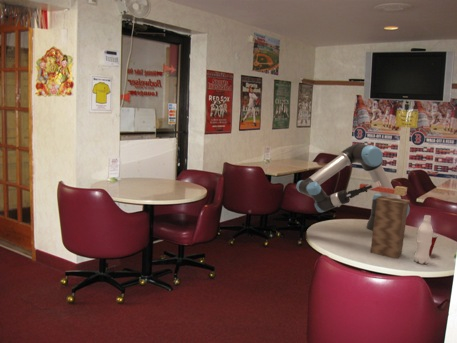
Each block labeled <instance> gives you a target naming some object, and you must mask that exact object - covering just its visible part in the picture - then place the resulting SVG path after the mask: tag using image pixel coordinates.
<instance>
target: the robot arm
mask: <svg viewBox="0 0 457 343" xmlns="http://www.w3.org/2000/svg"><path fill="white" fill-rule="evenodd" d="M383 157H384V154H383V152H382V150H381V148H379V147H377V146H375V145H371V144H364V143H355V144H352V145H350V146H348V147H346V148H345V149H343V150H342V151H340V152H339V155H338V156H337V157H335V158H334V159H332V160H331V161H330V162H328V163H326V164H325V165H324V166H323V167H321V168H320V169H319V170H317V171H316V172H315V173H313V174H312V175H311V176H309V177H308V178H306V179H305V180H304V179H301V180H298V181H297V183H296V186H295V188H296V190H297V192H299V193H300V194H303V195H305V196H307V197H310V198H312V199H313V200H314V208H315V209H316V211H317V212H318V213H324V212H327V211H330V210H332V209H335V208H340V207H341V206H343V205H345V204H348V203H349V202H350V199H352V198H355V197H357V196H359V195H360V194H362V193H367V192H368V191H372V190H371V189H373V188H376V187H378V186H381V187H387V188H394V187H393V185H392V183H391V180H390V178H389V177H388V175H387V173H386V171H385V169H384V168H383V166H382V165H383V163H384V162H383ZM355 163H357V164H360V165H361V166H362V168H363V171H365V172H368V174H369V176H370V178H371V180H372V181H373V182H372V183H370V184H368V185H367V186H366V187H365V186H364V187H362V188H355V189H353V190H352V189H351V190H349V191H347V190H345V189H343V190H340V191H337V192H335V193H332V194H330V195H327V193H326V192H325V191H324V189H323V188H322V186H321V185H322V184H323V183H324V182H326V181H327V180H329V179H331V177H333V176H334V175H336V174H337V173H338V172H340V171H341V170H343V169H344V168H346V166H349V167H350V166H351V165H352V164H355ZM380 196H387V197H393V198H398V199H402V197H401V195H395V194H390V193H384V192H378V193H376V194H373V197H372V200H371V201H372V202H371V211H370V217H369V218H368V221H367V222H366V228H367V229H369V230H371V231H373V227H374V219H375V211H376V203H377V201H376V198H378V197H380ZM410 210H411V208H410V205H409V204H408V210H407V217H408V216H409V215H410Z"/></svg>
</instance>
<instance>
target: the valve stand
mask: <svg viewBox="0 0 457 343" xmlns="http://www.w3.org/2000/svg"><path fill="white" fill-rule="evenodd" d="M376 201H377V203H376V211H375V219H374V227H373V230H372V238H371V244H370V245H371V247H370V253H371V254H375V255H379V256H385V257H389V258H392V259H399V257H401V255H402V254H403V246H404V238H405V233H406V232H405V231H406V226H407V225H406V223H407V217H408V216H407V210H408V205H409V204H410V202H411V200H410V199H398V198H393V197H387V196H380V197H378V198H376Z"/></svg>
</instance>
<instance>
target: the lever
mask: <svg viewBox="0 0 457 343" xmlns="http://www.w3.org/2000/svg"><path fill="white" fill-rule="evenodd" d="M367 185H369V184H368V183H367V184H366V183H360V184H359V187H358V189H360V188H362V187H364V186H365V187H366V186H367ZM370 191H373V192H378V193H379V192H384V193H390V194H395V195H400V197H401V196H402V197H405V196H406V195H407V194H408V193H407V191H408V187H406V186H401V185H397V186H395V187H393V188H387V187H381V186H378V187H376V188H373V189H371V190H370Z"/></svg>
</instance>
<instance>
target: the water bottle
mask: <svg viewBox="0 0 457 343" xmlns="http://www.w3.org/2000/svg"><path fill="white" fill-rule="evenodd" d="M431 219H432V216H431V215H429V214H425V215H424V217H423V221H422V223H421V224H420V226H419V227H418V229H417V232H418V235H417V237H416V240H415V241H416V251H415V253H414V260H415V262H416V263H418V264H420V265H423V264H424V265H427V264H428V263H429V261H430V257H431V256H429V250H430V246H431V244H432V235H433V234H434V230H433V227H432V224H431V221H432V220H431Z"/></svg>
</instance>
